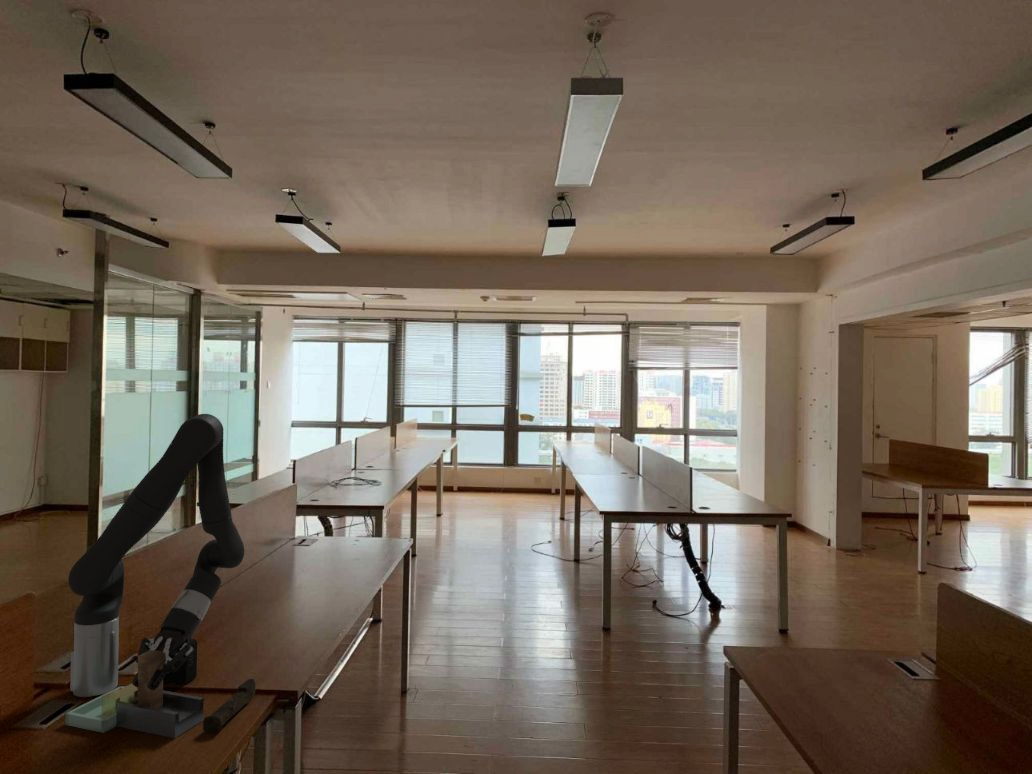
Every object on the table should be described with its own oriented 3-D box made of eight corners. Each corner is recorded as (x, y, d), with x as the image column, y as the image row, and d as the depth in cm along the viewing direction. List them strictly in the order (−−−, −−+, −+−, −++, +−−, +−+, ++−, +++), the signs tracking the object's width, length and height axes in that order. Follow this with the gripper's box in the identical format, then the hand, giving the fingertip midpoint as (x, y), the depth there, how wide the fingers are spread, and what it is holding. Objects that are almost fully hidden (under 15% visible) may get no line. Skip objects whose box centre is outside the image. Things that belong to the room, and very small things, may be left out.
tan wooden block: (131, 711, 143) (132, 656, 143) (150, 701, 147) (150, 648, 147) (147, 714, 141) (148, 659, 141) (165, 703, 146) (165, 650, 146)
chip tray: (65, 724, 142) (65, 713, 142) (120, 696, 156) (120, 685, 156) (103, 733, 139) (104, 721, 139) (157, 703, 152) (157, 692, 152)
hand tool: (218, 736, 139) (219, 714, 139) (201, 734, 139) (202, 712, 140) (265, 695, 158) (265, 676, 158) (249, 694, 158) (250, 675, 158)
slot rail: (116, 726, 142) (116, 703, 142) (146, 709, 150) (147, 687, 150) (174, 738, 137) (175, 714, 137) (203, 720, 145) (203, 697, 145)
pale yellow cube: (119, 707, 144) (120, 689, 144) (135, 699, 148) (135, 681, 148) (133, 710, 143) (134, 691, 143) (148, 701, 147) (149, 684, 147)
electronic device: (185, 685, 162) (186, 645, 162) (150, 681, 164) (151, 642, 164) (196, 678, 166) (197, 639, 166) (162, 674, 168) (163, 636, 168)
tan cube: (115, 717, 144) (101, 714, 146) (130, 709, 148) (117, 706, 149) (115, 699, 144) (101, 696, 146) (131, 691, 148) (117, 688, 150)
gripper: (154, 603, 154) (107, 676, 142) (202, 609, 149) (159, 685, 138) (171, 618, 159) (128, 689, 147) (219, 624, 154) (178, 699, 143)
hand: (143, 687), depth 142 cm, fingers closed on tan wooden block, 3 cm apart
